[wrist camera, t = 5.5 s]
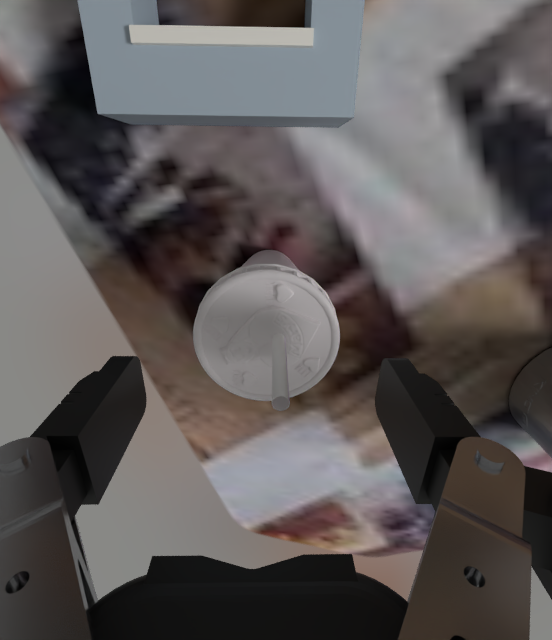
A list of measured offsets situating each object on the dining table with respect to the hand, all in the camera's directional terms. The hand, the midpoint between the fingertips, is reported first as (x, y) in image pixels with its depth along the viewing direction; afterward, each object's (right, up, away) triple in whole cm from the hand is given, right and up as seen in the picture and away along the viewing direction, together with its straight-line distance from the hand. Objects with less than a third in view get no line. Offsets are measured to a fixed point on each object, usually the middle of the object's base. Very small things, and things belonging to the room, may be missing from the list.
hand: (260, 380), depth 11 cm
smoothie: (0, +5, +12) cm, 13 cm away
